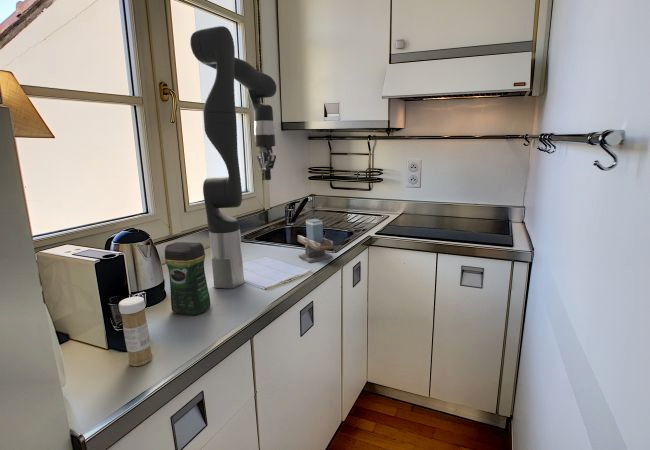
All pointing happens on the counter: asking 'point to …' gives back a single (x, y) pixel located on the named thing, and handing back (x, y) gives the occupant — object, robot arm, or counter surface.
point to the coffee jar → (187, 278)
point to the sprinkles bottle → (135, 330)
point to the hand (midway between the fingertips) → (267, 179)
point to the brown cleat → (315, 249)
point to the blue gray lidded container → (314, 230)
